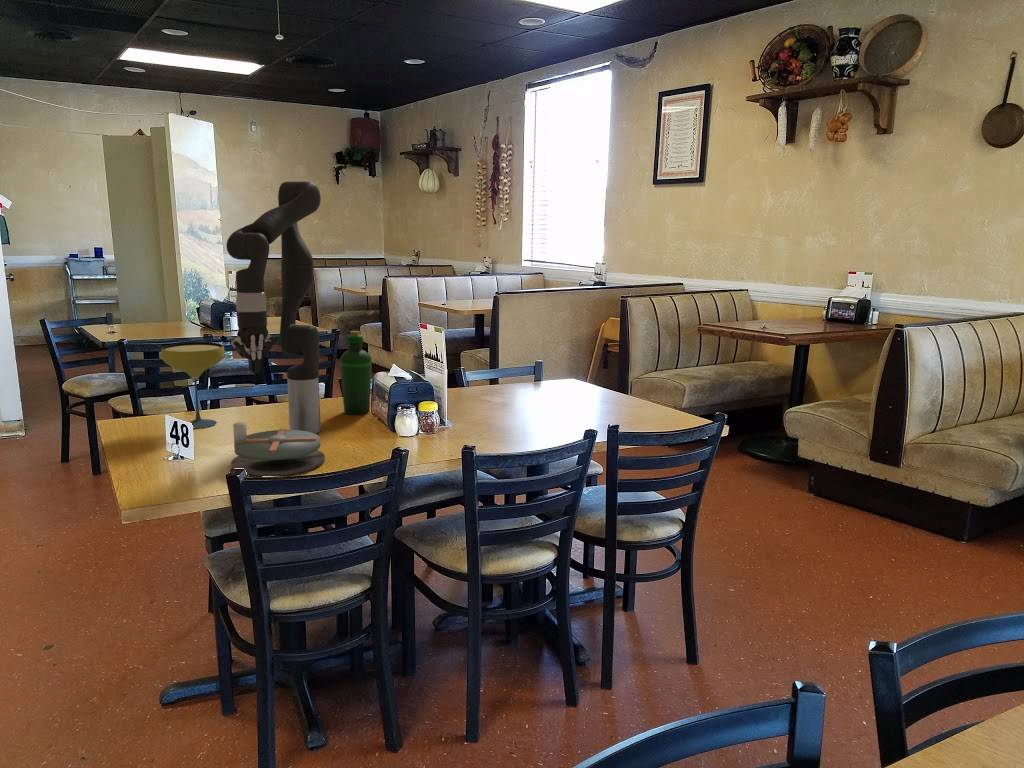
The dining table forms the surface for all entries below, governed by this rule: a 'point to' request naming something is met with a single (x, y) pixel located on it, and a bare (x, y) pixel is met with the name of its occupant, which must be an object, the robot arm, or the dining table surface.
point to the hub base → (280, 465)
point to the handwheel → (273, 443)
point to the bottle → (356, 376)
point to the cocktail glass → (194, 366)
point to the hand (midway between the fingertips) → (255, 372)
